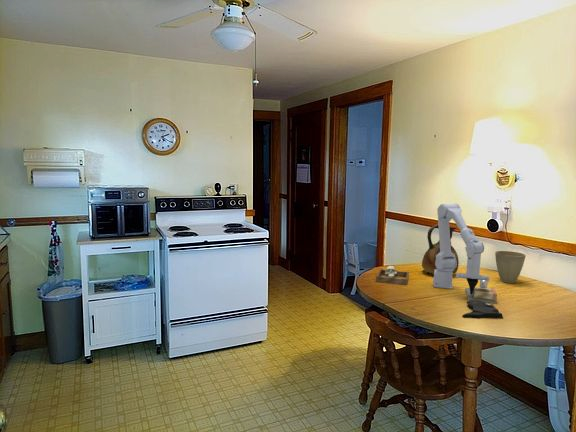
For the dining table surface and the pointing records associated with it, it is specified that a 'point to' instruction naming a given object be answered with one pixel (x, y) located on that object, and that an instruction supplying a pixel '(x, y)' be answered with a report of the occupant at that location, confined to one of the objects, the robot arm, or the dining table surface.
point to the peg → (483, 284)
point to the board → (471, 298)
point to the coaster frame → (393, 280)
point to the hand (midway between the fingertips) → (471, 293)
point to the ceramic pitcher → (436, 252)
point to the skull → (390, 272)
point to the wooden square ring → (483, 293)
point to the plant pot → (509, 265)
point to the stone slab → (482, 310)
